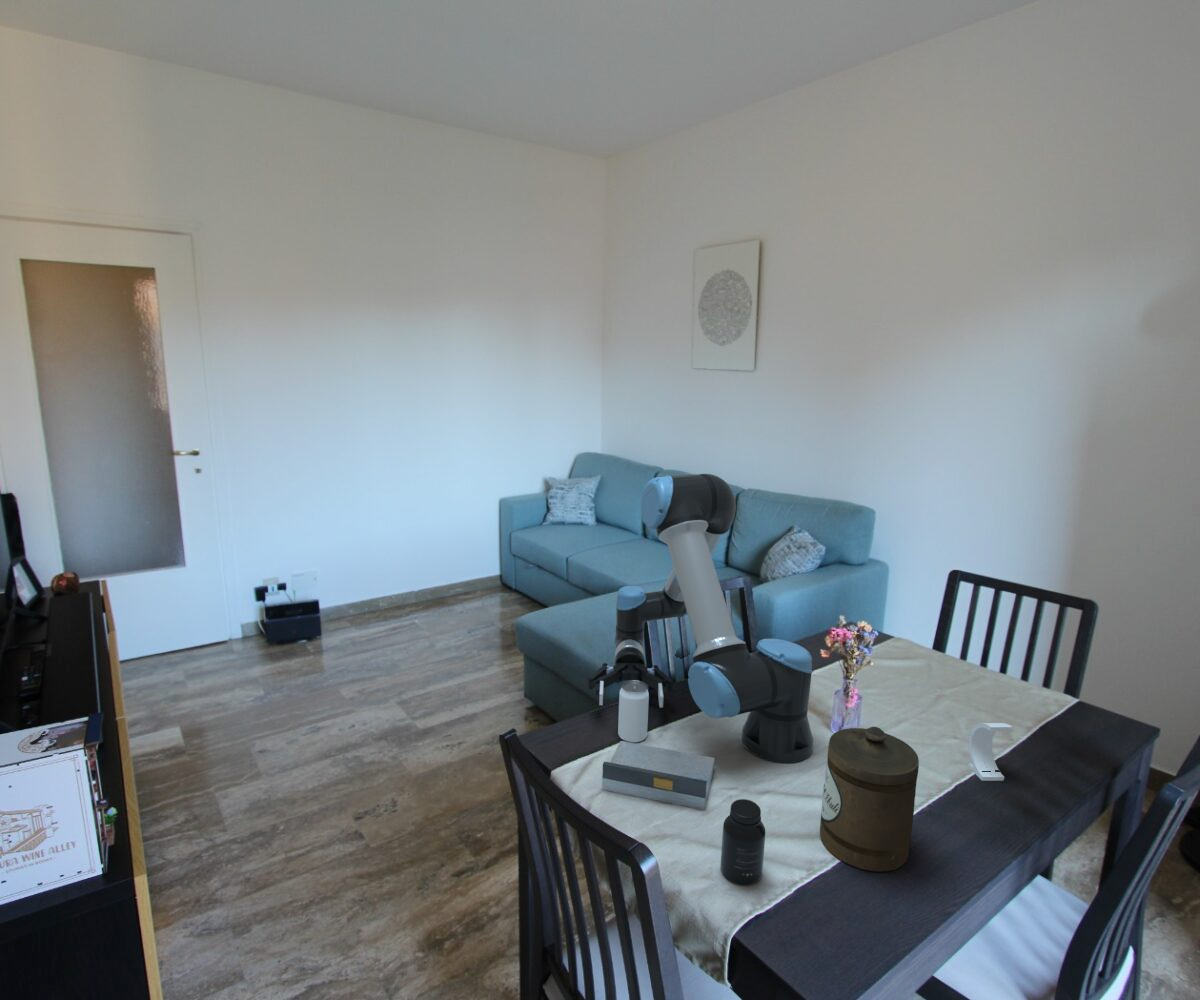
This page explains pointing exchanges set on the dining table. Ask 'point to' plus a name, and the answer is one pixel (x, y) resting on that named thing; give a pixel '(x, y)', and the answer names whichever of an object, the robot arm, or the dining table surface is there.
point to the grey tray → (659, 774)
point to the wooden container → (869, 798)
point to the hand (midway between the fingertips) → (631, 701)
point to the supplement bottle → (743, 843)
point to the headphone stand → (985, 750)
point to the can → (633, 711)
